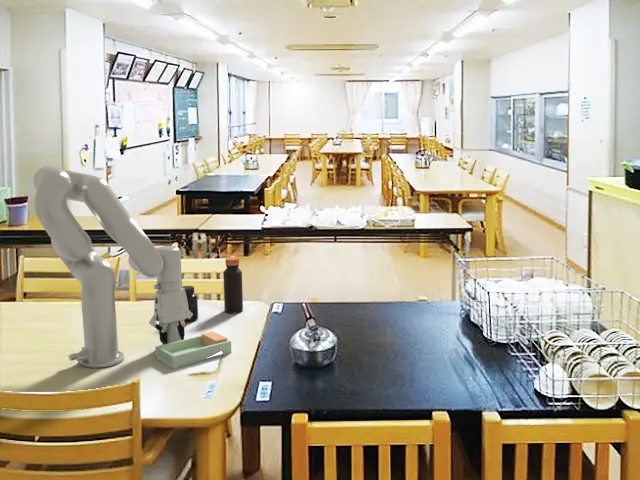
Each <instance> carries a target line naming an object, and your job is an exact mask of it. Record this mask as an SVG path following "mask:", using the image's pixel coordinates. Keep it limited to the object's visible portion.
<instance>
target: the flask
mask: <svg viewBox="0 0 640 480" xmlns="http://www.w3.org/2000/svg"><path fill="white" fill-rule="evenodd" d="M177 326H178V325H177V323H176V322H173V323H168V324H167V325H166V329H165V332H167V344H168V343H172V342H176V341H180V340H182V339H181V337H180V334H179V331H178V329H177ZM161 345H164V344H163V343H162V342H161Z"/></svg>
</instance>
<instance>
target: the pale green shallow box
mask: <svg viewBox="0 0 640 480" xmlns="http://www.w3.org/2000/svg"><path fill="white" fill-rule="evenodd" d="M220 351H222V352H223V355H227V354H230V353H232V341H231V340H228V339H227V341H225V342H221V343H217V344H213V345H210V346H207V345H205V344H203V343H202V334H201V335H196V336H193V337H188V338H184V340H180V341H176V342H172V343H168V344H164V345H162V344H161V345H157V346H155V359H156V360H159V361H160V362H161V363H164V365H167V366H169V367H170V368H173V369H177V368H181V367H184V366H188V365H192V364H194V363H195V362H196V363H199V362H202V361H201V360H203V359H206V358H207V357H210V356H212V355H214V354H216V353H218V352H220ZM223 355H222V356H223ZM206 360H207V359H206ZM198 361H199V362H198ZM203 361H204V360H203ZM191 363H192V364H191Z"/></svg>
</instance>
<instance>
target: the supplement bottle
mask: <svg viewBox="0 0 640 480" xmlns="http://www.w3.org/2000/svg"><path fill="white" fill-rule="evenodd" d="M182 288H184V289H185V292H186V296H187V301H188V309H189V310H190V311H191V312H192V313H193V316H192V317H191V318H190V319H189V321H188V322H187V323H191V322H195V321H197V320H199V308H198V306H199V305H198V296H197V294H196V293H195V286H193V285H184V286H183V285H182Z"/></svg>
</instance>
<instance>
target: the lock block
mask: <svg viewBox="0 0 640 480" xmlns="http://www.w3.org/2000/svg"><path fill="white" fill-rule="evenodd" d="M201 335H202V343H203V344H205V345H207V346H210V345H213V344H217V343H221V342H225V341H228V337H226V336H224V335H222V334H219V333H218V332H215V331H213V330H212V331H209V332H204V333H202V334H201Z"/></svg>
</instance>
